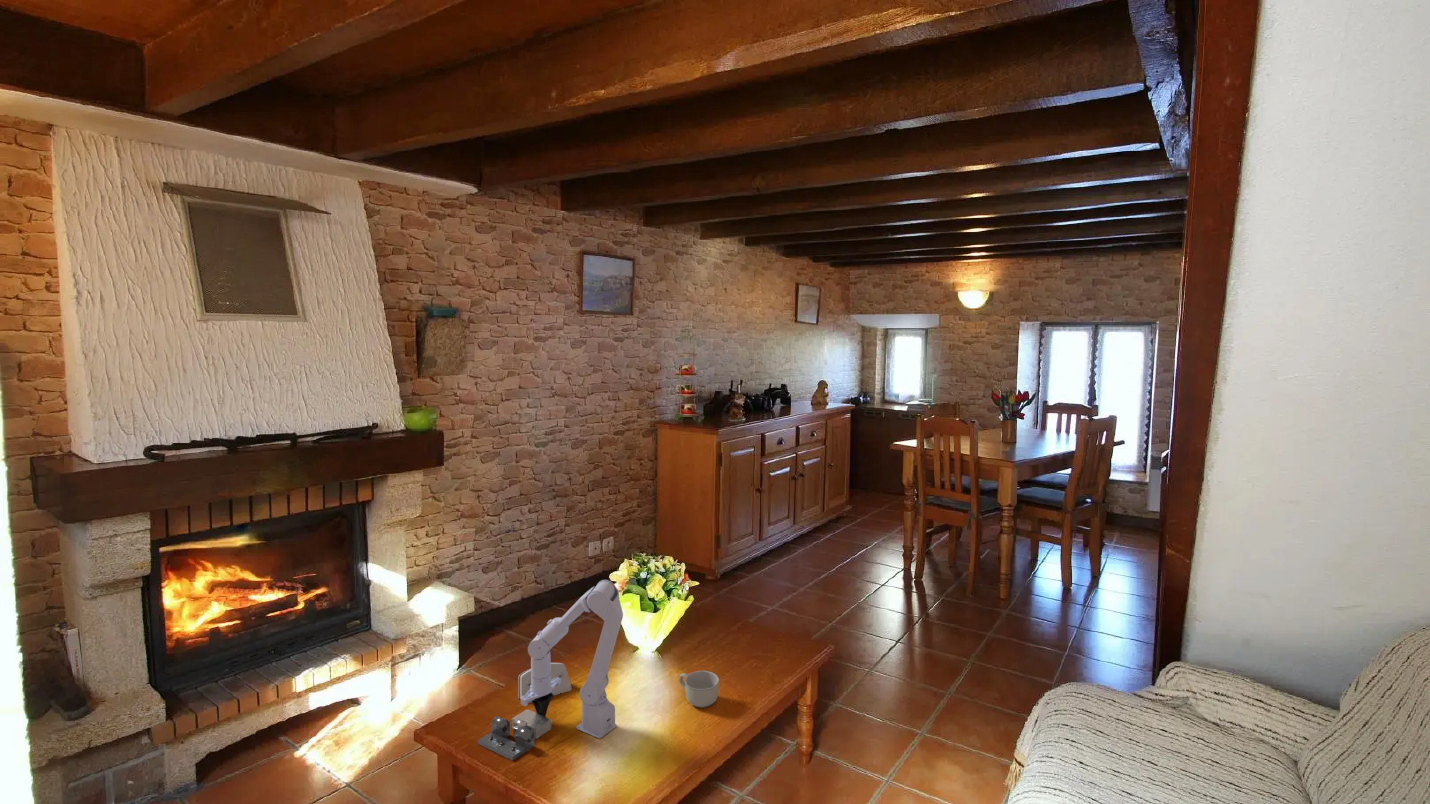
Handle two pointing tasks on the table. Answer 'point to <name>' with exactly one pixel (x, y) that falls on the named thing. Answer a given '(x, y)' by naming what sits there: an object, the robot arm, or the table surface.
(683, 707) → the table surface
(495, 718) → the fixed leaf
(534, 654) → the robot arm
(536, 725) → the grey boxy piece
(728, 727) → the table surface
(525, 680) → the grey rounded slab
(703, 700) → the teacup
